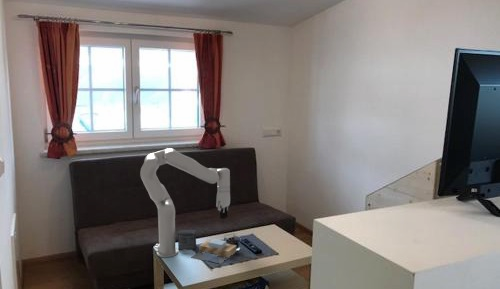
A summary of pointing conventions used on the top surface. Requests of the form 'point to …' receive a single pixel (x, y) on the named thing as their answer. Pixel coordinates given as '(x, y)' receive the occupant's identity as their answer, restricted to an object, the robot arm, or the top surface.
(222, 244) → the grey flat block
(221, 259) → the mat
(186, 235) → the small box
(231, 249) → the deck
